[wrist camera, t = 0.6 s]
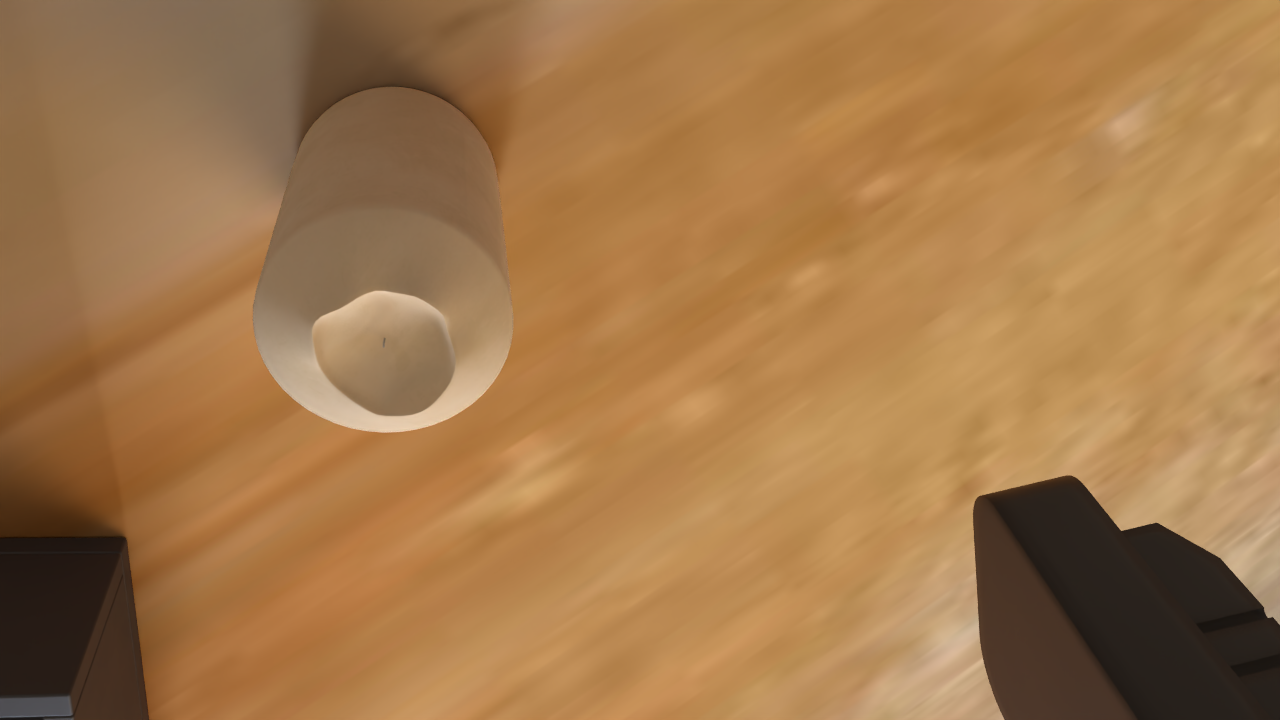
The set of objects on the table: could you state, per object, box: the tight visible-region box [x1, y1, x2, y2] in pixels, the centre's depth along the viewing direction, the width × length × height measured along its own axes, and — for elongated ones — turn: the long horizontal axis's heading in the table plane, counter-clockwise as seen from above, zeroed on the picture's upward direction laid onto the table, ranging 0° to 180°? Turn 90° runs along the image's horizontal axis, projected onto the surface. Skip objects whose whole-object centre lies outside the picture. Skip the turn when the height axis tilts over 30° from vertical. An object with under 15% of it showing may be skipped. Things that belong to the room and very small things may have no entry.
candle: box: [253, 87, 513, 432], centre depth 29 cm, size 6×6×10 cm
